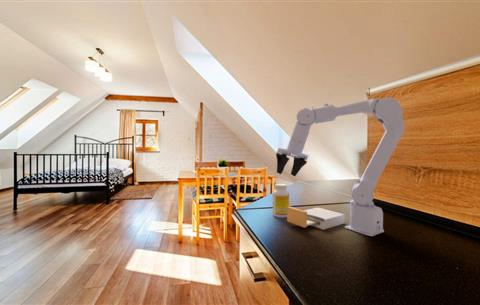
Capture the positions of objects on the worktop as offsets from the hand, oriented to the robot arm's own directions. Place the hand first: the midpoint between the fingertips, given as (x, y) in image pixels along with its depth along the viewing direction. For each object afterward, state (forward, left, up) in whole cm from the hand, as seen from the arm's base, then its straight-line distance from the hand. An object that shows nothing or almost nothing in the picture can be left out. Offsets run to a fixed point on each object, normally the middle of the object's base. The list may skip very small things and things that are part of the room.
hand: (286, 174), depth 90 cm
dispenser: (-9, -9, -18) cm, 22 cm away
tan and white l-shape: (-9, -4, -16) cm, 19 cm away
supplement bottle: (+5, -2, -18) cm, 19 cm away
